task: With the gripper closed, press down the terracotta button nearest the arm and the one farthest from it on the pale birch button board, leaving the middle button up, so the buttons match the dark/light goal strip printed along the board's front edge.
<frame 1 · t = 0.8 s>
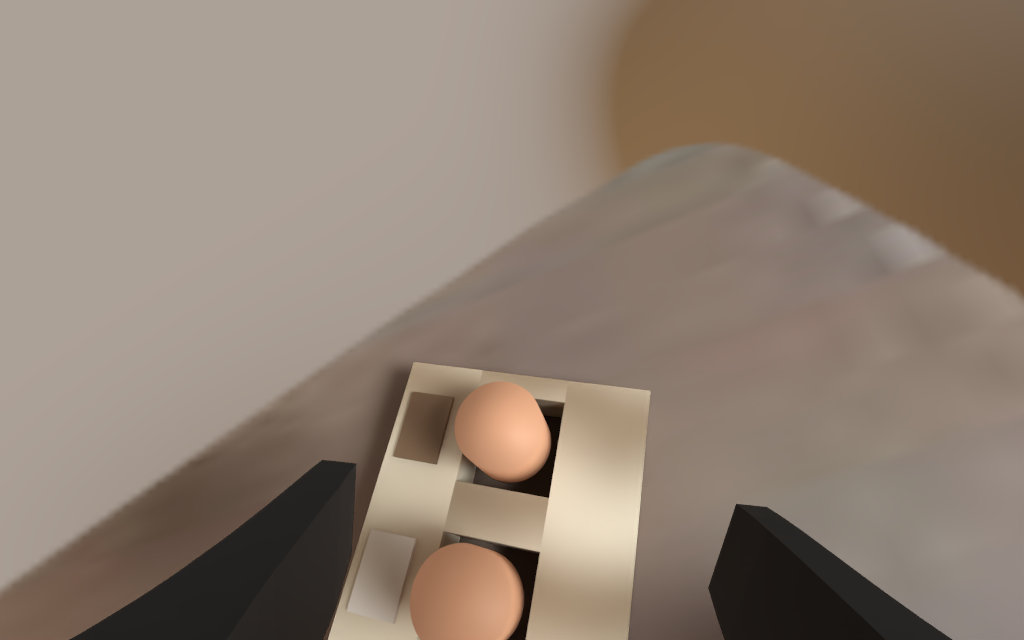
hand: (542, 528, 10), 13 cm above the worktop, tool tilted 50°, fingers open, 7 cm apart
button mid: (469, 598, 18), point 4 cm above the worktop, slide at 0.0 cm
button board: (493, 597, 21), on the worktop
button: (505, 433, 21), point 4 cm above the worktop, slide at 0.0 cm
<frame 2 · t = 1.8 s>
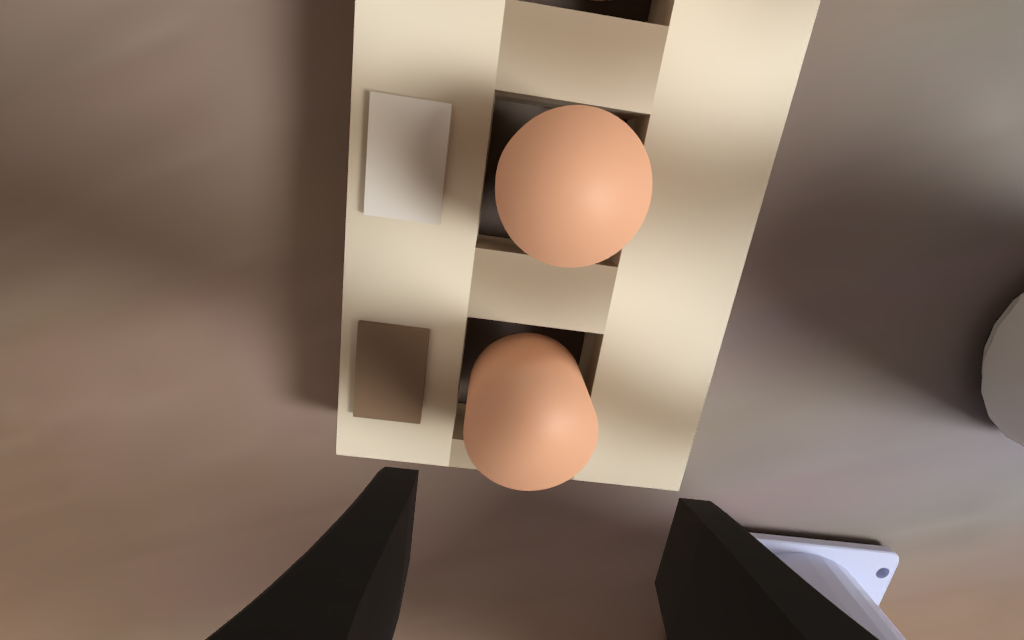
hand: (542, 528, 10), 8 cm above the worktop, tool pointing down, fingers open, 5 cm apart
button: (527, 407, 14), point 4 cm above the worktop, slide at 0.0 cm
button mid: (565, 186, 12), point 4 cm above the worktop, slide at 0.0 cm
button board: (550, 178, 16), on the worktop
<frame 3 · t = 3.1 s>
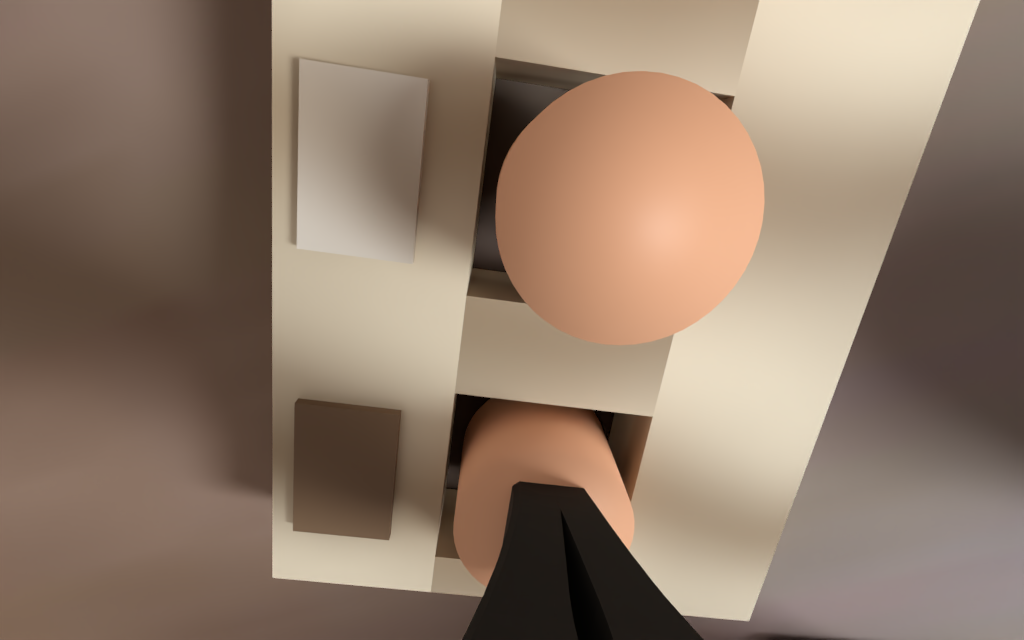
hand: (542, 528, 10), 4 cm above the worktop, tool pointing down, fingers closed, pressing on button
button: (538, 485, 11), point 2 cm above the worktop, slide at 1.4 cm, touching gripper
button mid: (607, 208, 8), point 4 cm above the worktop, slide at 0.0 cm
button board: (574, 191, 11), on the worktop
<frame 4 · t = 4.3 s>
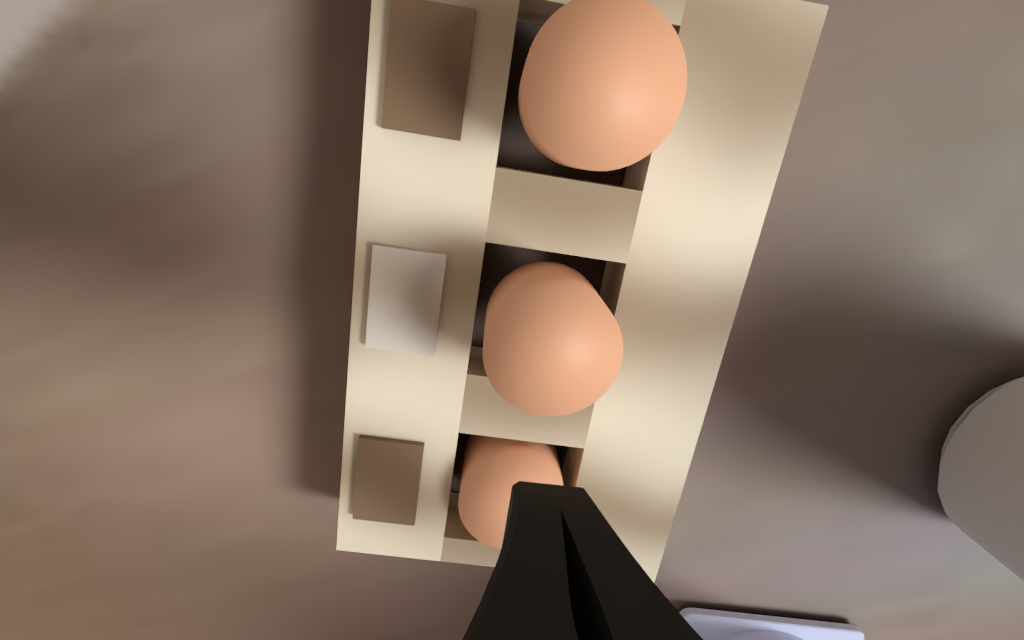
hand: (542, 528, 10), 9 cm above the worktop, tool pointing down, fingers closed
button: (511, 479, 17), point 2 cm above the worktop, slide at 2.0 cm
button mid: (547, 334, 14), point 4 cm above the worktop, slide at 0.0 cm
can: (1013, 443, 19), on the worktop
button board: (538, 298, 17), on the worktop
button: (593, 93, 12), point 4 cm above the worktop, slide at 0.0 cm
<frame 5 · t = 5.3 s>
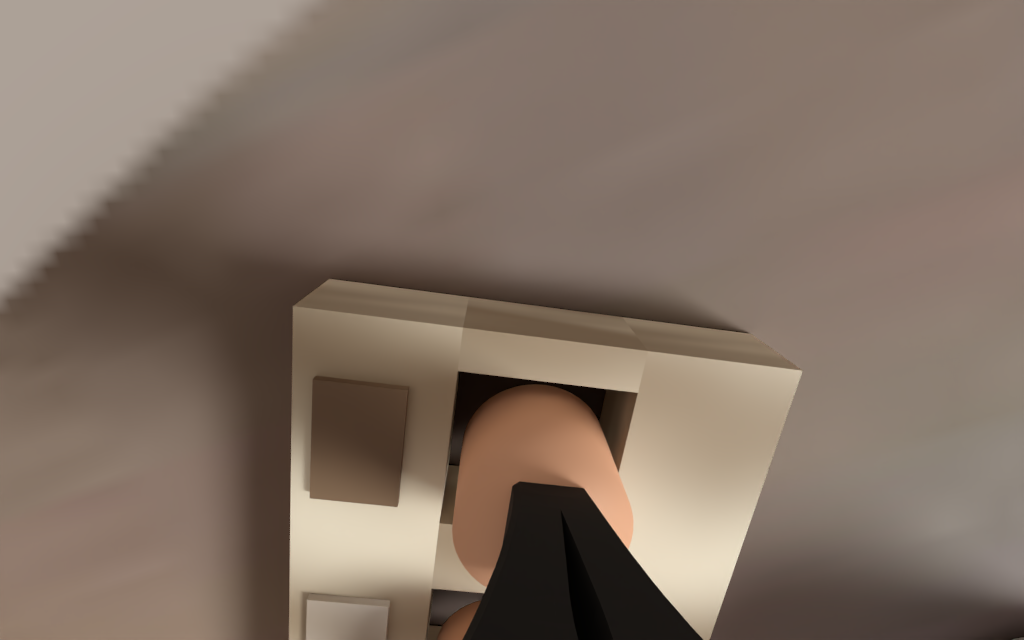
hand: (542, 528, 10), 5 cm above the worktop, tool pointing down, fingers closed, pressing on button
button board: (499, 581, 16), on the worktop
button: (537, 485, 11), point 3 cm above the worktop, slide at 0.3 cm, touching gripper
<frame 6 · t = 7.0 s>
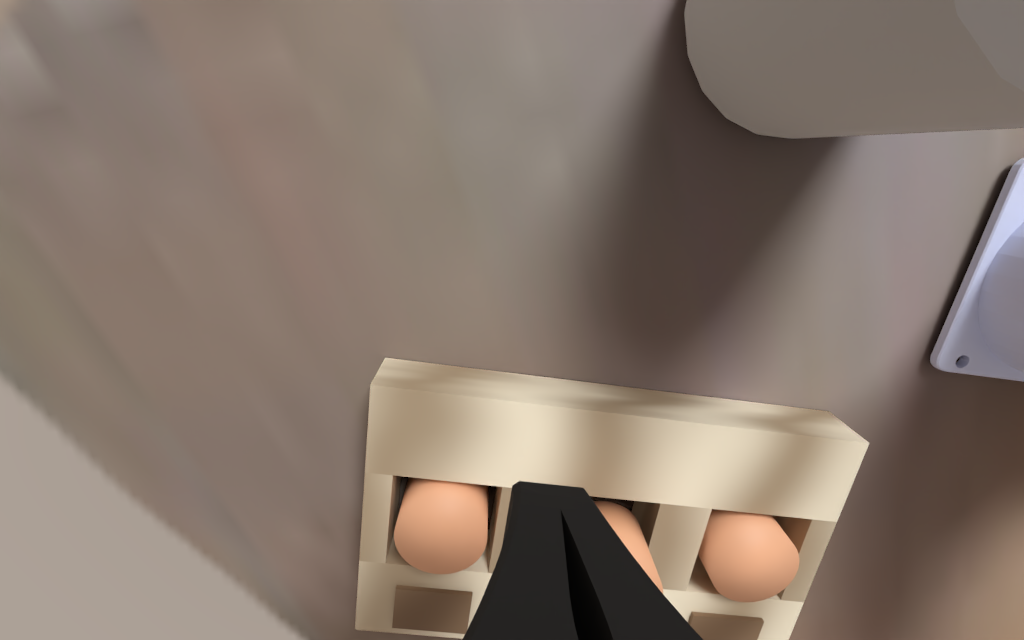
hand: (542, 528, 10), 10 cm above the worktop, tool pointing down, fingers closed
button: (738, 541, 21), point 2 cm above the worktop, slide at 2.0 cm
button mid: (604, 565, 18), point 4 cm above the worktop, slide at 0.0 cm
can: (787, 16, 16), on the worktop
button board: (587, 500, 22), on the worktop
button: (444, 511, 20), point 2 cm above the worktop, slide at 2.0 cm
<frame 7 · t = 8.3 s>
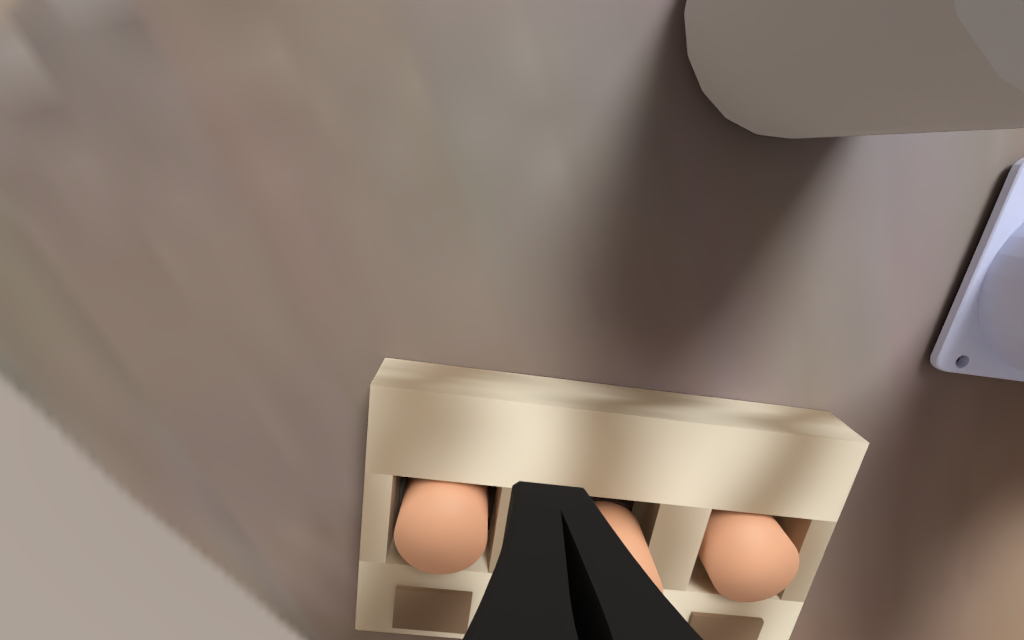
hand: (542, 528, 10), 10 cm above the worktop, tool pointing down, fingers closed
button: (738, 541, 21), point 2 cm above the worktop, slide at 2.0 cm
button mid: (604, 565, 18), point 4 cm above the worktop, slide at 0.0 cm
can: (787, 16, 16), on the worktop
button board: (587, 500, 22), on the worktop
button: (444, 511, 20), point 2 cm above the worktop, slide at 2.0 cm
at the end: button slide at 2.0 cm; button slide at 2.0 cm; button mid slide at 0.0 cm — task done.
